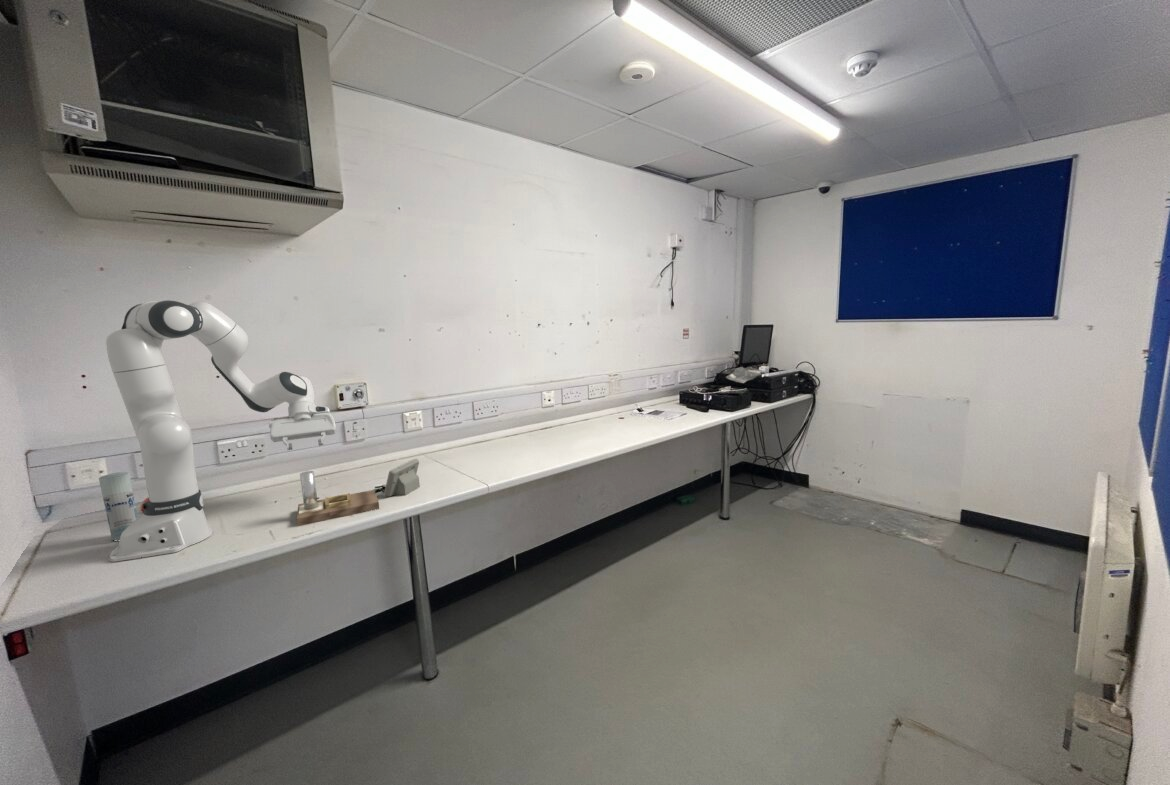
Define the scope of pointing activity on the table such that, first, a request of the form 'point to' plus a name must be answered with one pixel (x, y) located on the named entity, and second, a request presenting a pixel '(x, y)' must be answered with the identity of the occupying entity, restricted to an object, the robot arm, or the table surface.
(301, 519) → the wooden peg board
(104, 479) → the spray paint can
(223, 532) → the table surface
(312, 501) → the steel pin
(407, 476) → the digital clock
